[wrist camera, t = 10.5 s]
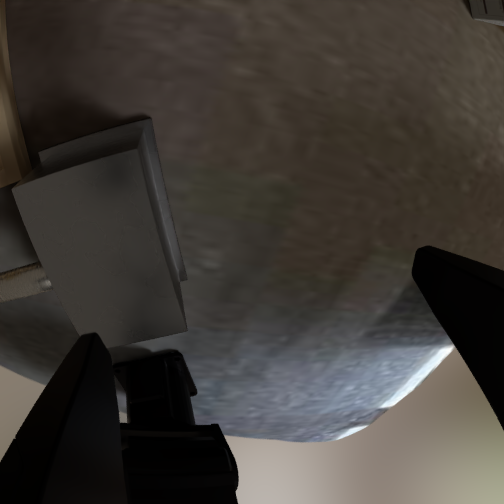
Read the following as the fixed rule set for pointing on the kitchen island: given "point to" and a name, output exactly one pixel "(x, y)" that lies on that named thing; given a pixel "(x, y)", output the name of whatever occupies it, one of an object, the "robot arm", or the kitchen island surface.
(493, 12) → the supplement box
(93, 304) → the vise block
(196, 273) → the kitchen island surface
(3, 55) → the tray
